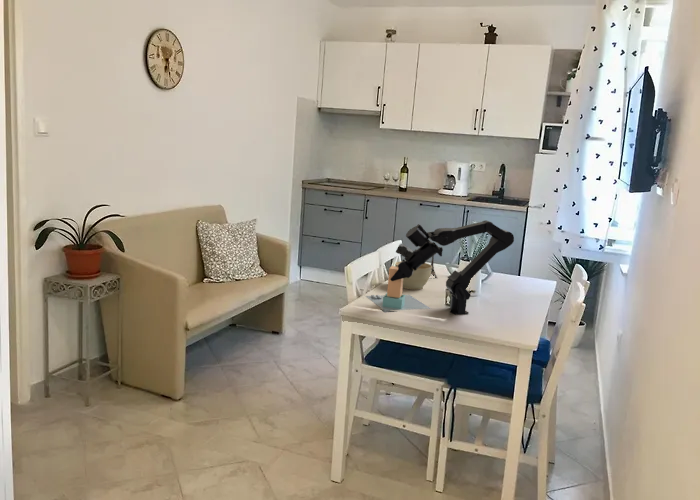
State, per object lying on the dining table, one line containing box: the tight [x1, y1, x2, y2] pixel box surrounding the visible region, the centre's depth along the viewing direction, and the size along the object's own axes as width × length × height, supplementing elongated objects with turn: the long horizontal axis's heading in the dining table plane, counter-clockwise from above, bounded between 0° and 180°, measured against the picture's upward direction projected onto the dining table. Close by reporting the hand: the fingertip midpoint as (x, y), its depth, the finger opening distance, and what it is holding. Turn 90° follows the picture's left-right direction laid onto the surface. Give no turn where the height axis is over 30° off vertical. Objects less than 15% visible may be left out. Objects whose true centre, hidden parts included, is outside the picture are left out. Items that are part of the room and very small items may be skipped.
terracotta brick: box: [386, 265, 404, 298], centre depth 239 cm, size 5×5×11 cm
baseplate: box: [365, 292, 432, 313], centre depth 246 cm, size 20×20×4 cm
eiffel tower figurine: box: [430, 255, 438, 279], centre depth 297 cm, size 15×10×13 cm
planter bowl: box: [394, 261, 432, 291], centre depth 272 cm, size 16×16×11 cm
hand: (392, 278), depth 239 cm, fingers closed on terracotta brick, 5 cm apart
